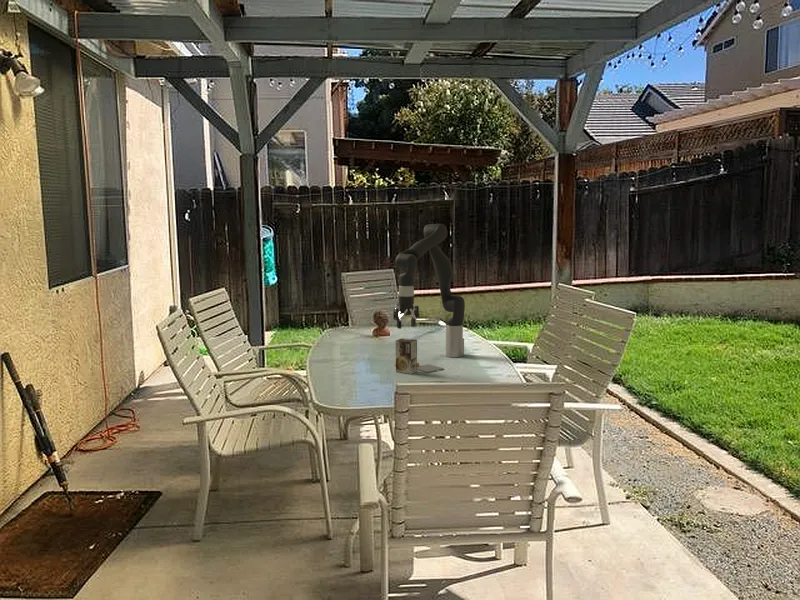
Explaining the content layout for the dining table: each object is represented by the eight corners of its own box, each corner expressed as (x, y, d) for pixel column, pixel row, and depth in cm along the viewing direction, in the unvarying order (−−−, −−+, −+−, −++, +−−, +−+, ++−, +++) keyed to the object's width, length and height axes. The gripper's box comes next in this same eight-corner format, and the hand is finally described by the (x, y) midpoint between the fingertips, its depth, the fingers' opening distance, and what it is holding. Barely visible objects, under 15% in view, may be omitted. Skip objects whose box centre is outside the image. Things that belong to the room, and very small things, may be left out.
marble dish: (408, 363, 358) (408, 359, 358) (419, 366, 351) (419, 362, 350) (394, 366, 352) (394, 362, 352) (405, 369, 345) (405, 365, 345)
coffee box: (417, 371, 341) (417, 339, 339) (411, 374, 336) (411, 341, 333) (401, 369, 346) (401, 337, 343) (395, 372, 340) (395, 340, 338)
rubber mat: (428, 365, 354) (428, 364, 354) (444, 369, 345) (444, 368, 345) (412, 368, 347) (412, 367, 347) (427, 372, 338) (427, 371, 338)
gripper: (412, 293, 343) (412, 325, 345) (390, 295, 334) (390, 328, 336) (422, 294, 337) (422, 327, 339) (399, 296, 328) (399, 330, 330)
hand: (406, 327), depth 338 cm, fingers open, 8 cm apart
